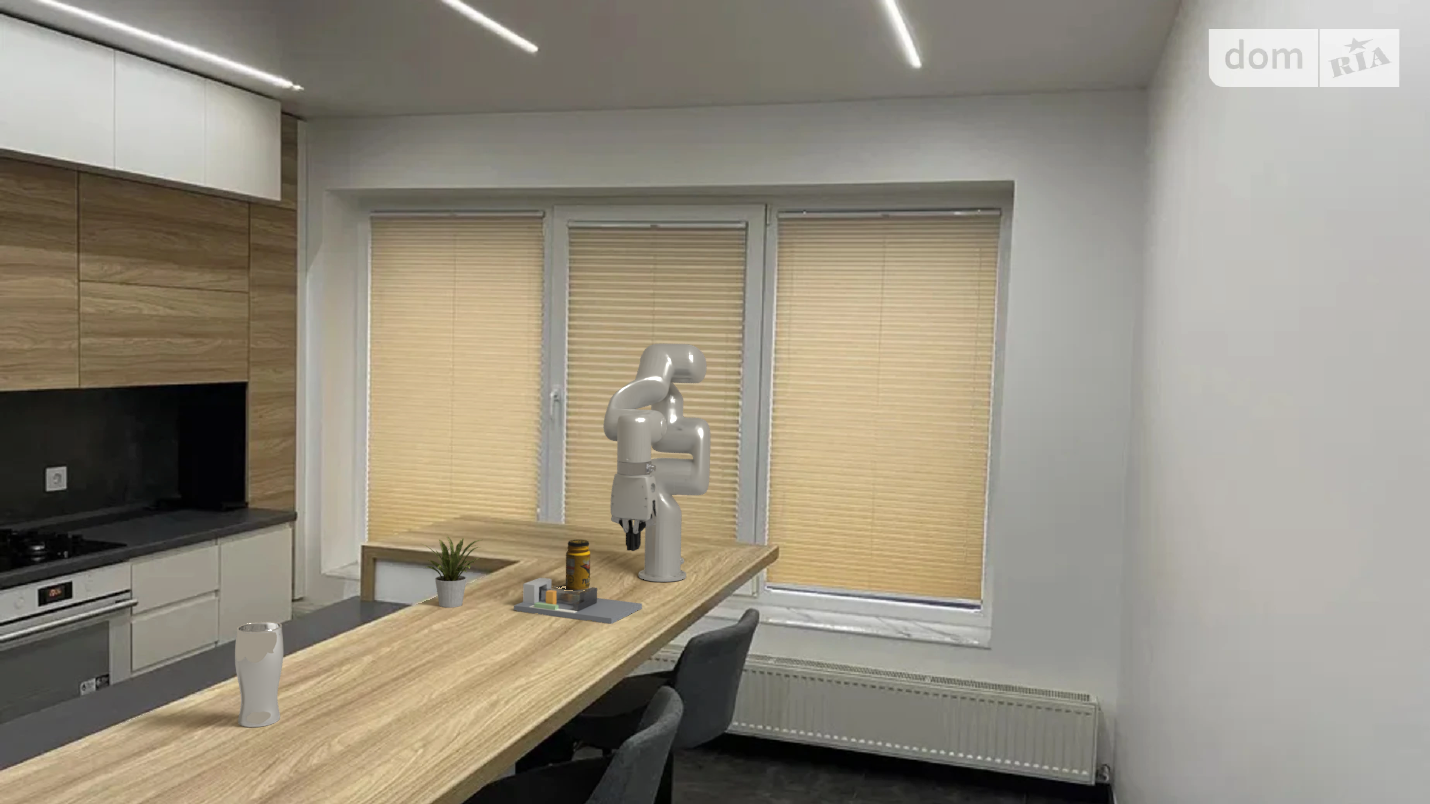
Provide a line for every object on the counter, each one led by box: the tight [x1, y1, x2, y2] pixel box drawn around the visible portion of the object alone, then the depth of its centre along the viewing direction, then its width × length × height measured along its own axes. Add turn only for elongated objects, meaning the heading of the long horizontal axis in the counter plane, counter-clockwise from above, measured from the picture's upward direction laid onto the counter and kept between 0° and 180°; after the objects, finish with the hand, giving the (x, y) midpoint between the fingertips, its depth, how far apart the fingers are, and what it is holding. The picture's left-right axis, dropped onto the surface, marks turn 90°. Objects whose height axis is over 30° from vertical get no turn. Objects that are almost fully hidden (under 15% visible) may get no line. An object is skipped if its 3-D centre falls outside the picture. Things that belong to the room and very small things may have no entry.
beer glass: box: [234, 620, 284, 728], centre depth 162 cm, size 7×7×15 cm
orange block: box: [546, 590, 557, 605], centre depth 234 cm, size 2×2×4 cm
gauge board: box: [513, 577, 643, 625], centre depth 237 cm, size 15×25×5 cm, turn 68°
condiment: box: [552, 539, 592, 592], centre depth 258 cm, size 7×8×12 cm
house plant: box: [421, 535, 482, 608], centre depth 238 cm, size 14×14×16 cm
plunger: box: [539, 586, 598, 611], centre depth 237 cm, size 9×15×4 cm, turn 68°
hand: (633, 549), depth 232 cm, fingers closed
